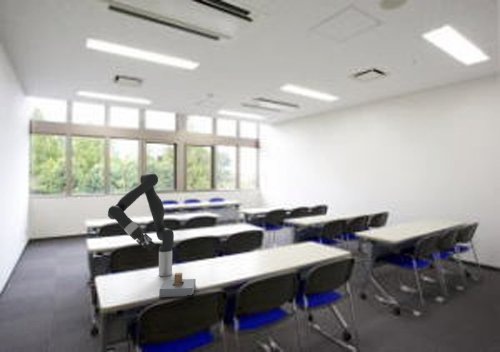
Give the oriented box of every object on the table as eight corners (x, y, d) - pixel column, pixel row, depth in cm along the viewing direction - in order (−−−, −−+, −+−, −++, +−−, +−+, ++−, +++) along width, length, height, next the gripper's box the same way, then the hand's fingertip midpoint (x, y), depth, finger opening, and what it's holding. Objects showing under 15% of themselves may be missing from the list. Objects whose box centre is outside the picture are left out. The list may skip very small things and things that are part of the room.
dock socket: (165, 286, 170) (165, 279, 170) (195, 285, 172) (195, 278, 172) (159, 296, 155) (159, 289, 155) (192, 295, 157) (192, 287, 157)
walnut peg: (175, 288, 165) (175, 272, 166) (182, 288, 166) (182, 272, 166) (174, 290, 161) (174, 275, 162) (181, 290, 162) (181, 274, 162)
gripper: (134, 228, 160) (154, 246, 161) (141, 224, 174) (160, 241, 175) (125, 237, 160) (145, 255, 161) (133, 232, 174) (152, 249, 175)
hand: (153, 248), depth 168 cm, fingers open, 8 cm apart
